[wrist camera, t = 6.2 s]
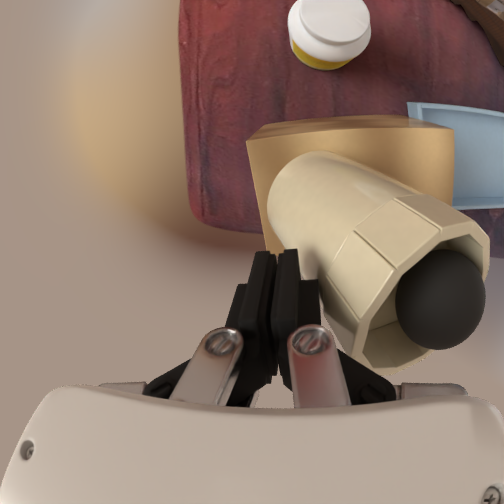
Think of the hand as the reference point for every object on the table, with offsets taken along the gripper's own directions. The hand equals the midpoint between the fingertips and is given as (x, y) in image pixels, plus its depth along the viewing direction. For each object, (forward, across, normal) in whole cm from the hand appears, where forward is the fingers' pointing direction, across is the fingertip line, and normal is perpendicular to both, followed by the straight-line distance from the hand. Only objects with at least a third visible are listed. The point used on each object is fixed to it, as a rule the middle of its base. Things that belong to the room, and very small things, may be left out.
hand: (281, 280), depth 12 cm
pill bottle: (+21, -5, -13) cm, 26 cm away
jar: (+8, -2, 0) cm, 8 cm away
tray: (+21, -25, 0) cm, 33 cm away
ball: (-2, -6, 0) cm, 7 cm away
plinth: (+21, -5, 0) cm, 22 cm away
